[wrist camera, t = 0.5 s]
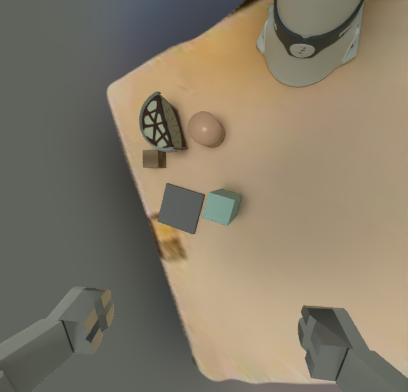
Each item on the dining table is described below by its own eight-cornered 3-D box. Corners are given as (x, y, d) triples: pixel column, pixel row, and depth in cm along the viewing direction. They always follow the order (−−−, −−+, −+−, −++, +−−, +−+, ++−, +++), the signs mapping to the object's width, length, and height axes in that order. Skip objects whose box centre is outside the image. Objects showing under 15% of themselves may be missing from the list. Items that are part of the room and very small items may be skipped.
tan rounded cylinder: (203, 118, 51) (191, 108, 43) (228, 124, 49) (220, 114, 42) (197, 144, 52) (184, 139, 44) (221, 150, 50) (212, 145, 43)
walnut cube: (151, 152, 56) (142, 150, 52) (165, 151, 54) (157, 149, 51) (151, 168, 56) (143, 167, 52) (165, 167, 55) (158, 167, 51)
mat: (167, 183, 55) (166, 183, 54) (204, 194, 52) (203, 195, 52) (159, 220, 57) (157, 221, 56) (194, 233, 54) (193, 234, 53)
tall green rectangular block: (220, 188, 51) (208, 192, 41) (242, 195, 50) (234, 200, 39) (215, 208, 52) (201, 217, 42) (236, 215, 51) (227, 226, 40)
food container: (154, 113, 54) (129, 100, 45) (176, 104, 53) (155, 88, 43) (167, 161, 54) (145, 158, 45) (189, 154, 53) (172, 149, 43)
